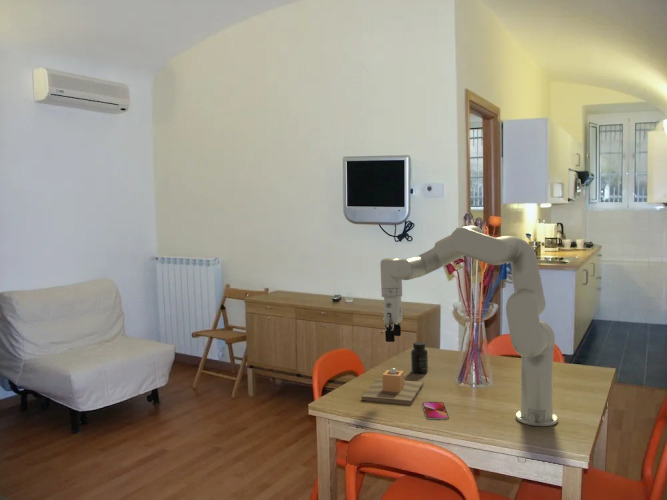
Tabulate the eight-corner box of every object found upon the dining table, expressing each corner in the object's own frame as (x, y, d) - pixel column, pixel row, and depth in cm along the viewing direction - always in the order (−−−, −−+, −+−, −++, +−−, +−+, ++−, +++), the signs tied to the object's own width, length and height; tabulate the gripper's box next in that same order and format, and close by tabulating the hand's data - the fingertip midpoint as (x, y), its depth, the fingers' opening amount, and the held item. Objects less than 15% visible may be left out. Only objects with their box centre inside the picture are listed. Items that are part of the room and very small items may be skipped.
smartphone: (426, 418, 191) (422, 401, 206) (426, 421, 191) (422, 404, 206) (449, 418, 190) (443, 401, 205) (449, 421, 190) (443, 404, 205)
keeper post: (396, 390, 216) (395, 369, 216) (389, 389, 217) (388, 368, 217) (397, 388, 219) (397, 367, 218) (390, 387, 220) (390, 366, 219)
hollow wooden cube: (399, 392, 214) (399, 376, 213) (382, 390, 216) (382, 374, 216) (404, 386, 220) (403, 371, 219) (387, 385, 222) (387, 369, 222)
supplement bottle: (408, 370, 246) (407, 342, 245) (422, 368, 248) (421, 340, 248) (417, 375, 239) (416, 346, 238) (431, 372, 242) (430, 343, 241)
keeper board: (411, 404, 205) (411, 400, 205) (361, 400, 211) (361, 396, 211) (423, 385, 225) (423, 381, 225) (377, 382, 231) (377, 378, 231)
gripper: (396, 296, 206) (398, 344, 207) (407, 288, 222) (408, 333, 223) (375, 295, 208) (377, 343, 209) (387, 288, 224) (389, 333, 226)
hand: (393, 338), depth 216 cm, fingers open, 9 cm apart
